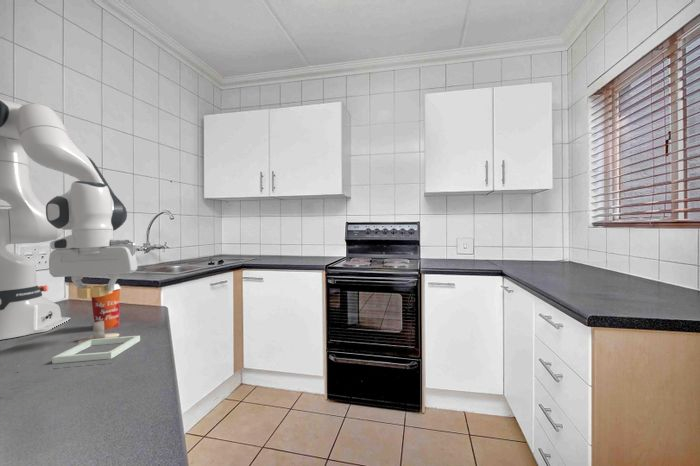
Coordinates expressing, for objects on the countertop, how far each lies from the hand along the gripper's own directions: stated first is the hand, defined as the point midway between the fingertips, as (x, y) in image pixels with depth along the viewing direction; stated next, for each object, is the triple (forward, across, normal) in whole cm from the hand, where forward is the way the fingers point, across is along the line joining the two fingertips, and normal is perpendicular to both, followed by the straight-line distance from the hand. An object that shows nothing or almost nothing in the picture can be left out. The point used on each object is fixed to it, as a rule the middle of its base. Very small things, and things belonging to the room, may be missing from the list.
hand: (96, 291), depth 87 cm
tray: (+14, -7, +11) cm, 19 cm away
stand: (+14, 0, 0) cm, 14 cm away
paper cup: (+14, +5, -12) cm, 19 cm away
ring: (+1, 0, 0) cm, 1 cm away
